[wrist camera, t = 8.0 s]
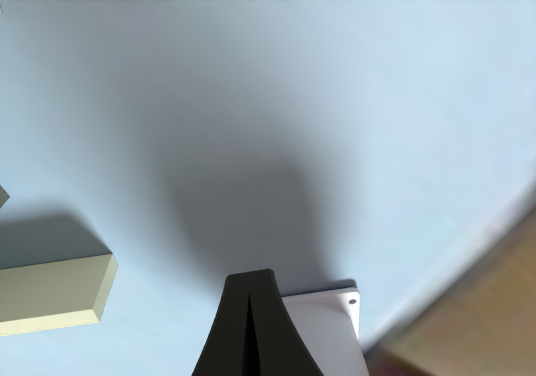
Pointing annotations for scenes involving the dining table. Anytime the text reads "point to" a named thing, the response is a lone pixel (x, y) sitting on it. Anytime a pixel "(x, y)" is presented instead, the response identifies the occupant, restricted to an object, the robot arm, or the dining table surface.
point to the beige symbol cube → (3, 196)
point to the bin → (55, 293)
